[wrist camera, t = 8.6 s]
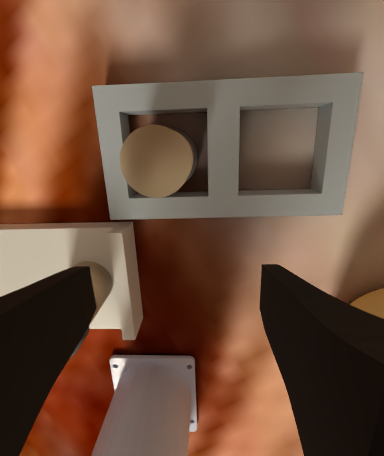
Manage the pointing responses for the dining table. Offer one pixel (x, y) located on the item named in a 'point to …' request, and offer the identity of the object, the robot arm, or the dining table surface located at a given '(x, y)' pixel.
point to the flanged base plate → (73, 254)
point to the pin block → (233, 143)
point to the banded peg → (157, 160)
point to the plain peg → (97, 289)
